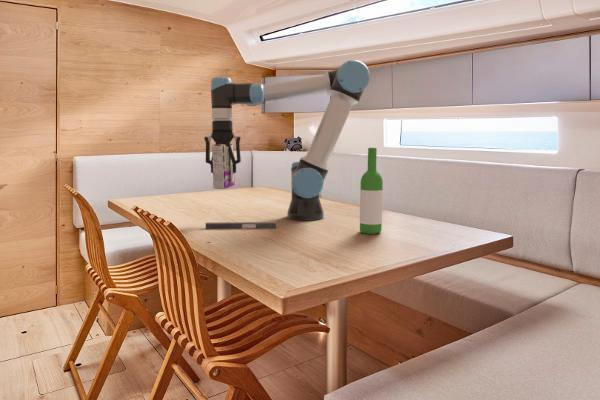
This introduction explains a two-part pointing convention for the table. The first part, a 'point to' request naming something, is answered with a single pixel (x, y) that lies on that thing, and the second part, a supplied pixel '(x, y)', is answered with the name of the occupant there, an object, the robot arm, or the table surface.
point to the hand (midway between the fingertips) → (223, 181)
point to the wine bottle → (371, 197)
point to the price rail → (240, 225)
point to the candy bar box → (221, 166)
